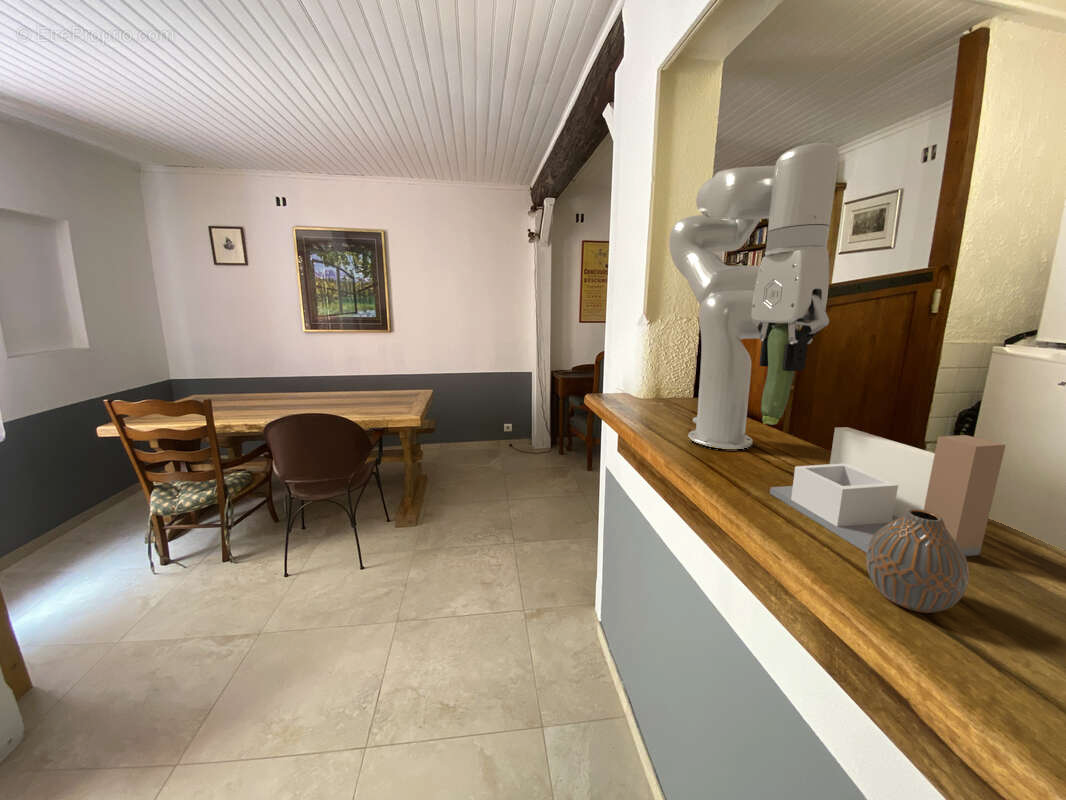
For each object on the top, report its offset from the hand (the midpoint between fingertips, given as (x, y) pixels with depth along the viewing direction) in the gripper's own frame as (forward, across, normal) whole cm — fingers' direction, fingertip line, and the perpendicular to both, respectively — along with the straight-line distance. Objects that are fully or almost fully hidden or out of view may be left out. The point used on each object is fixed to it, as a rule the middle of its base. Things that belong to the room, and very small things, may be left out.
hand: (780, 366), depth 62 cm
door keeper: (+19, +14, +3) cm, 23 cm away
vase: (+19, +28, -6) cm, 34 cm away
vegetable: (+10, 0, 0) cm, 10 cm away
